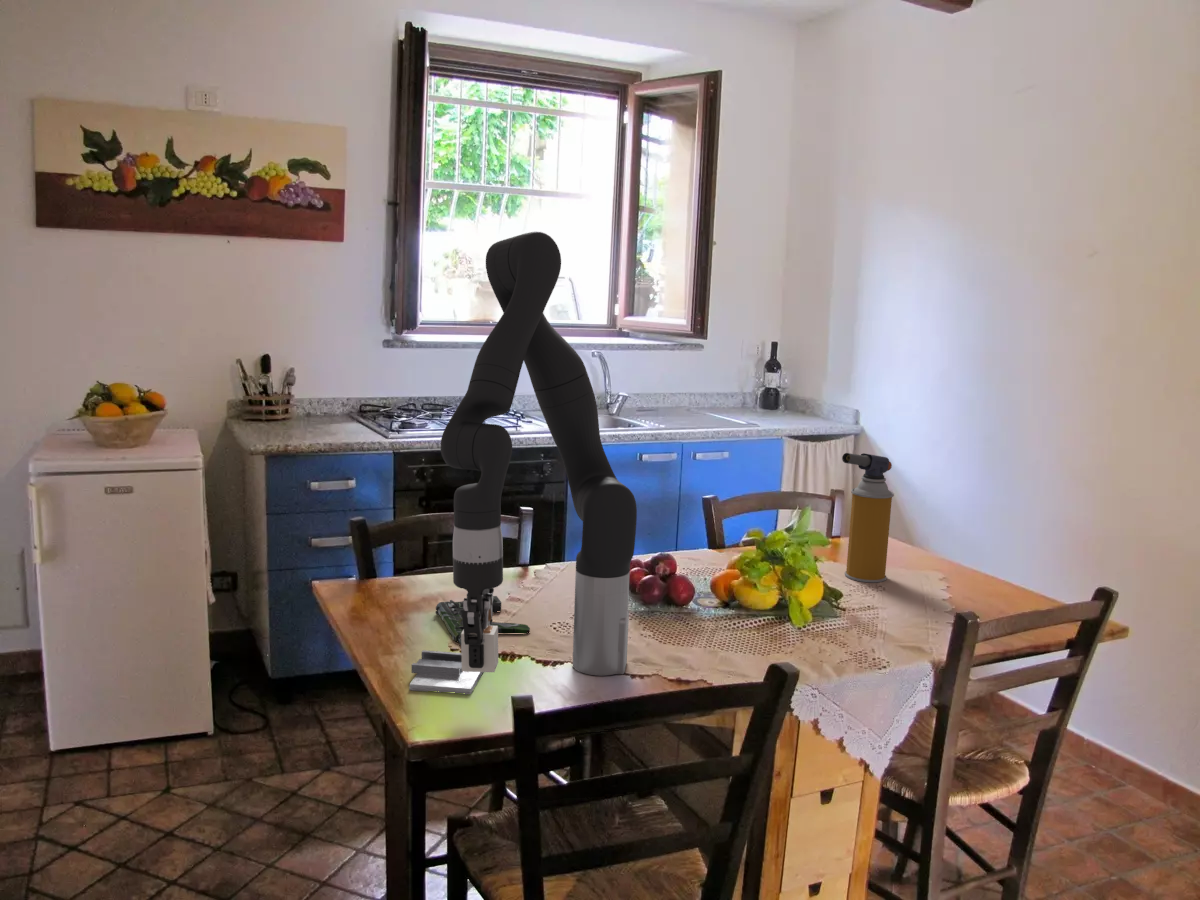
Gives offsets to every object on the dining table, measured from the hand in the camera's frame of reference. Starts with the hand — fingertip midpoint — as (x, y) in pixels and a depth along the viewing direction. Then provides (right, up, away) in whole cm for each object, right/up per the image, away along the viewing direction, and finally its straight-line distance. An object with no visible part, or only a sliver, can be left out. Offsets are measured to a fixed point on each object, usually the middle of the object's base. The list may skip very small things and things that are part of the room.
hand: (479, 660), depth 159 cm
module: (0, -1, 0) cm, 1 cm away
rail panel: (-6, -5, +13) cm, 16 cm away
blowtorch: (+78, +3, +79) cm, 111 cm away
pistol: (-4, -2, +39) cm, 39 cm away
